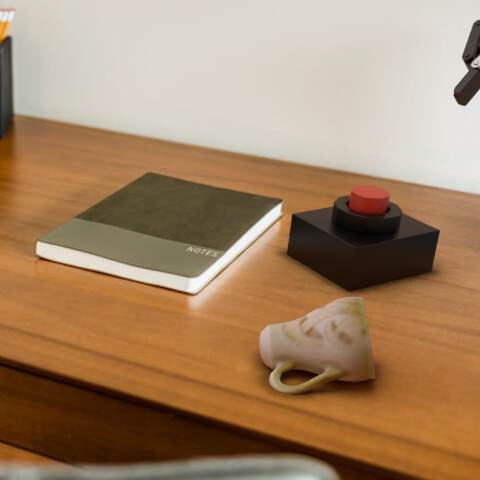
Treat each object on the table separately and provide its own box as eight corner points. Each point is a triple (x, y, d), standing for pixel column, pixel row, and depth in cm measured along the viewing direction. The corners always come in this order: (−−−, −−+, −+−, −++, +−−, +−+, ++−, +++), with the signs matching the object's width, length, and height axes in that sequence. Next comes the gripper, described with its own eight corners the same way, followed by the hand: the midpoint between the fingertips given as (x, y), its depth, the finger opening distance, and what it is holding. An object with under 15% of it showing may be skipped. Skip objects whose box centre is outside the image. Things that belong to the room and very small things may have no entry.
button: (368, 200, 98) (371, 183, 98) (394, 213, 95) (398, 195, 94) (340, 205, 97) (343, 187, 96) (366, 218, 93) (370, 200, 93)
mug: (245, 346, 81) (310, 257, 79) (336, 409, 80) (404, 320, 78) (240, 369, 74) (311, 271, 72) (340, 438, 73) (415, 341, 71)
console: (366, 240, 105) (375, 184, 103) (431, 274, 97) (443, 214, 95) (285, 257, 100) (293, 197, 97) (348, 294, 92) (359, 231, 89)
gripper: (506, -45, 102) (410, 68, 101) (621, -29, 91) (514, 99, 90) (526, 1, 107) (434, 110, 106) (638, 22, 96) (536, 144, 95)
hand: (472, 104), depth 98 cm, fingers open, 3 cm apart
